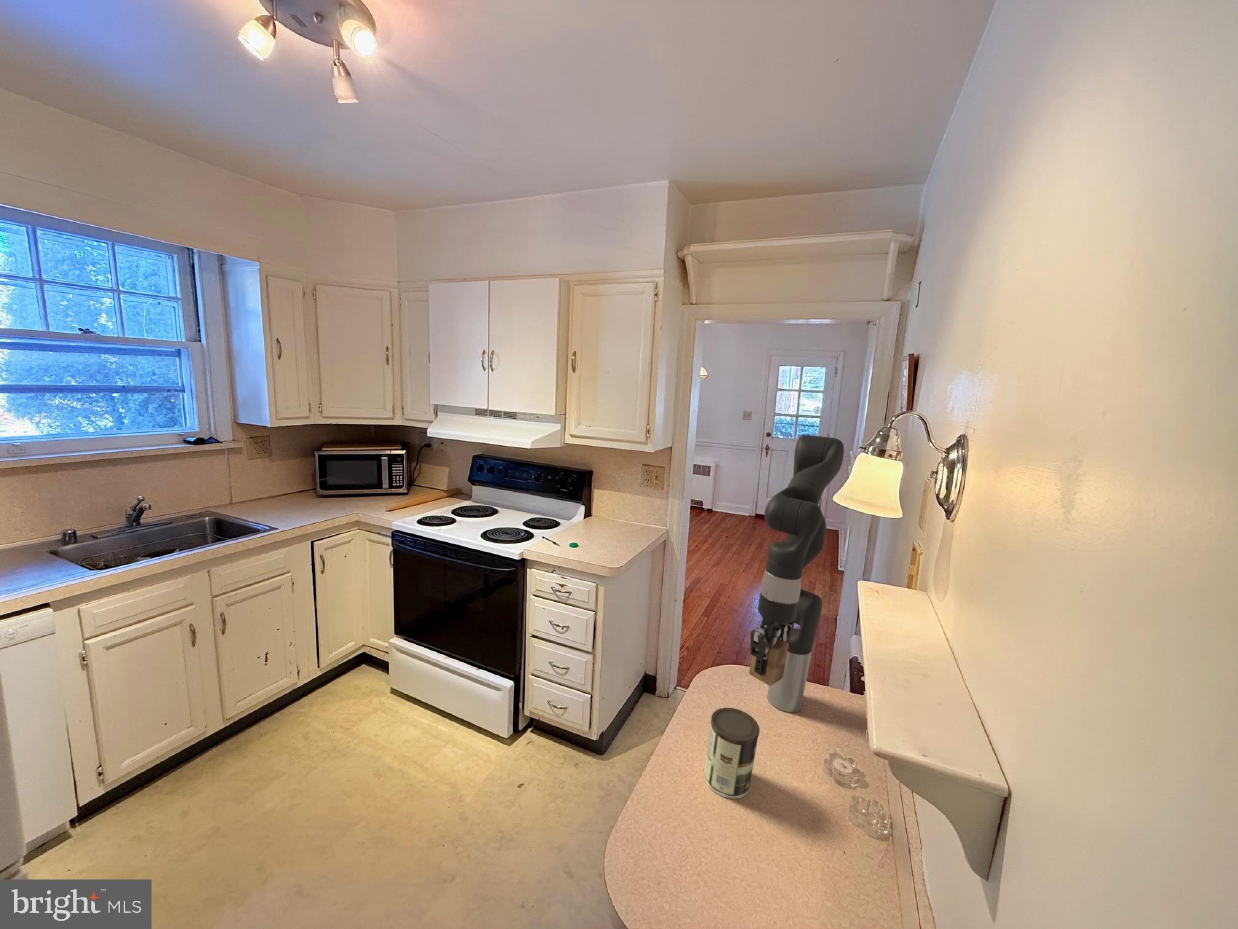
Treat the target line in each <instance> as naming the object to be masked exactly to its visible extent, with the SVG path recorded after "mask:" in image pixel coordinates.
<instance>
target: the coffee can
mask: <svg viewBox="0 0 1238 929" xmlns="http://www.w3.org/2000/svg"><path fill="white" fill-rule="evenodd" d="M759 735H760V726H759V723H758V722H757V721H756V719H755V718H754V717H753V716H751V715H750V714H749V713H747V712H746V711H743V710H741V709H738V708H734V707H720V708H717V709H716V710H715V711H713V712H712V714H711V717H710V728H709V735H708V742H707V750H706V757H705V764H704V770H703V778H704V781H705V783H706V785H707V787H709V789H710V790H711V791H712V792H714V793H715V794H717V795H719V796H720V797H723V798H726V799H731V800H734V799H735V800H736V799H741V798H744V797H745V796H746V795H747V794H749V792H750V790H751V783H752V776H753V768H754V763H755V757H756V751H757V750H756V749H757V745H758V738H759Z"/></svg>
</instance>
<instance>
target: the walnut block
mask: <svg viewBox="0 0 1238 929" xmlns="http://www.w3.org/2000/svg"><path fill="white" fill-rule="evenodd" d="M765 642H766V643H768V644H770V642H768V641H766V640H765ZM788 646H789V643H787V642H782V641H780V640H777V641H776V644H775V646H774V648H773V649H772V650H770V652H769V656H768V661H767V667H766V673H765V675H763V676H761V675H759V674H758V673H756V672H755V671H754V668H755V662H756V657H755V656H752V655H751V660H750V666H749V671H748V674H749V675H750V676H752V677H753V678H755V679H757V680H758V681H761V683H764V684H765V685H767V686H768V687H769V686H771V685H773V684H774V683H776V682H778V681H779V680H781V679H782V678H783V674H784V668H785V663H786V657H787V651H788ZM765 650H766V648H765V647H764V653H765Z"/></svg>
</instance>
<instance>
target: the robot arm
mask: <svg viewBox="0 0 1238 929" xmlns="http://www.w3.org/2000/svg"><path fill="white" fill-rule="evenodd" d="M844 447H845V446H844V443H843V442H842V440H841V439H838V438H836V437H830V436H829V437H828V436H820V435H812V434H802V435H800V436H799V437H798V439H797V441H796V443H795V450H794V458H793V476H792V478H791V479H790V481H789V483H788V485H787V487H786V488H784V489H783V490H781V491H779V492H777V493H776V494H774V495H773V496H772V497H771V499H770V500H769V501H768V502H767V504H766V507H765V510H764V521H765V523H766V525H767V526H768V527H769V528H770V529H771V530H773V531H777V532H781V533H786V538H785V541H775V542H773V543H771V544H770V545H769V548H768V552H767V557H766V558H767V559H766V562H765V563H766V564H765V570H764V573H763V577H762V580H761V586H760V593H759V598H758V605H757V612H758V613H759V614H760V616H761V619H762V620H761V623H760V625H759V629H758V630H756V629H752V630H751V632H750V648H749V650H750V652H749V654H750V656H751V657H752V656H755V657H756V662H755V668H754V671H755V672H756V673H758V674H759V675H761V676H763V675H765V673H766V667H767V661H768V656H769V652H770V650H772V649H773V648H774V646H775V644H776V641H777V640H780V641H782V642H787V643H789V646H788V651H787V657H786V663H785V668H784V674H783V678H782V679H781V680H779V681H778V682H776V683H774V684H773V685H771V686H769V685H768V688H767V697H766V698H767V700H768V702H769V703H770V705H771V706H773V707H775V708H776V709H778V710H780V711H783V712H787V713H797V712H800V711H801V709H802V707H803V706H802V705H803V699H804V695H805V691H806V684H807V679H808V674H809V667H810V664H811V663H810V661H811V656H812V651H813V646H814V644H815V643H814V642H815V638H816V634H817V629H818V627H819V621H820V618H821V613H822V610H823V601H822V598H821V596H820V595H818V594H816V593H813V592H810V591H808V590H805V589H802V576H803V571H804V569H805V568H806V567H807V566H808V565H809V564H810V563H812V561H813V560H815V559H816V558H817V557H818V556H819V554H820V553H822V550H823V549H824V544H825V538H826V537H825V536H826V530H827V529H826V528H827V521H826V518H825V517H824V514H823V512H822V509H821V507H820V506H819V504H820V500H821V498H822V495H823V493H824V491H825V489H826V488H827V487H828V485H829V484H830V483H831V482H833V479H834V478H835V477H836V476H837V474H838V473H839V471H840V470H841V468H842V464H843V461H844V453H845V448H844ZM795 624H796V625H797V626H799V628H796V627H795ZM765 640H766V641H768V642H770V644H768V643H766V642H765ZM764 647H765V648H766V650H765V653H764Z"/></svg>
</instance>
